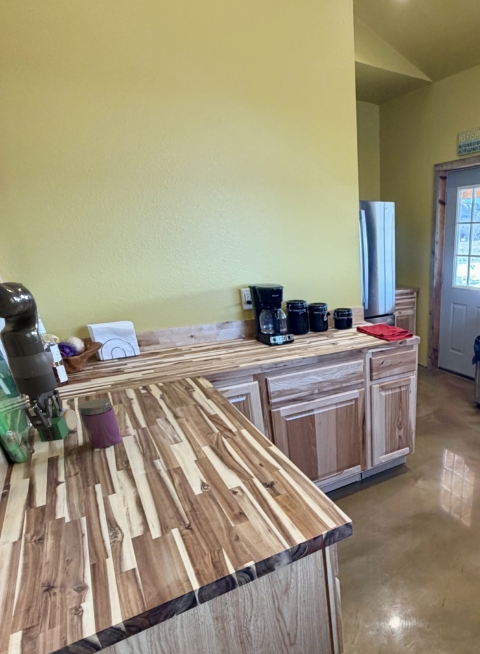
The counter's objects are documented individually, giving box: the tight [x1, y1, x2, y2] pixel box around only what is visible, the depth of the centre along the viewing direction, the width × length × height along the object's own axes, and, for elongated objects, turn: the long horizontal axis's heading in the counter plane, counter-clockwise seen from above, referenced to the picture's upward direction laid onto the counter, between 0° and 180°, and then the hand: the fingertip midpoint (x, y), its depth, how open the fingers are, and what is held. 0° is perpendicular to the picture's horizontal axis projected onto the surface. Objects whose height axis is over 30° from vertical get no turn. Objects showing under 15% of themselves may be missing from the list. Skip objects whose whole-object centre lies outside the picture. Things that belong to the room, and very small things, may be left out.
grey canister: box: [36, 407, 80, 432], centre depth 128 cm, size 11×8×8 cm
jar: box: [79, 406, 123, 449], centre depth 119 cm, size 8×8×12 cm
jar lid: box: [78, 398, 113, 415], centre depth 117 cm, size 8×8×2 cm
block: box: [36, 417, 70, 443], centre depth 104 cm, size 4×4×4 cm
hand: (54, 435), depth 105 cm, fingers closed on block, 4 cm apart
